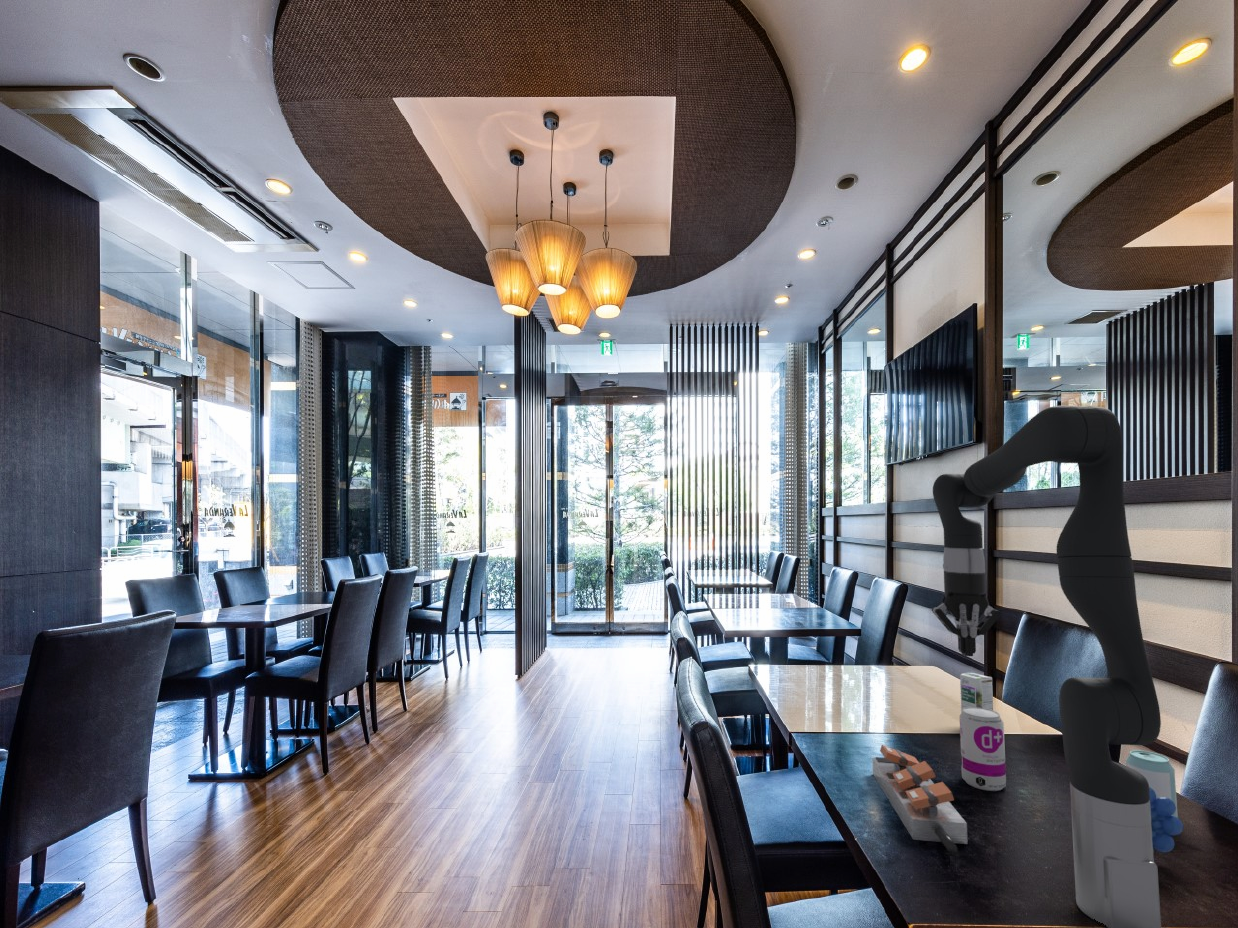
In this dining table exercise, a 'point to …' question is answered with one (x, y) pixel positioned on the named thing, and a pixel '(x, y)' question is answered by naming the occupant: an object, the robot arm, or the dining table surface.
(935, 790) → the block
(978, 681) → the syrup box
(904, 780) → the rocker
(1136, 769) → the can
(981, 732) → the supplement can
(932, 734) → the dining table surface
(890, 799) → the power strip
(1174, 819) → the grapes
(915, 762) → the rocker
